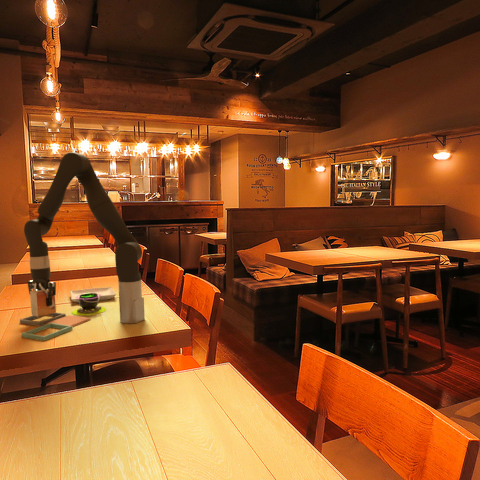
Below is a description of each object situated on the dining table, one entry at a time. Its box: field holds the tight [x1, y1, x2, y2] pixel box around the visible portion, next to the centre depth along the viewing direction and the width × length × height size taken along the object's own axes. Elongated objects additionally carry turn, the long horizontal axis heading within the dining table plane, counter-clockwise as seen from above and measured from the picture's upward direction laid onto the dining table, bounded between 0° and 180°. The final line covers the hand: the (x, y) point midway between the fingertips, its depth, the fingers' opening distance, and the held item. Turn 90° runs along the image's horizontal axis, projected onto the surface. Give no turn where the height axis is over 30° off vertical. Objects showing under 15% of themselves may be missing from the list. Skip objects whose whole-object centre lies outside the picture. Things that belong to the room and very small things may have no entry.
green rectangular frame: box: [21, 323, 73, 342], centre depth 154 cm, size 11×13×2 cm
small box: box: [29, 289, 57, 318], centre depth 171 cm, size 8×6×10 cm
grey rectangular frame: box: [19, 312, 67, 327], centre depth 172 cm, size 11×13×2 cm
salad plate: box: [69, 286, 117, 303], centre depth 209 cm, size 21×21×3 cm
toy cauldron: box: [71, 287, 107, 317], centre depth 185 cm, size 15×15×11 cm
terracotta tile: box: [47, 314, 92, 328], centre depth 168 cm, size 12×12×1 cm
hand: (43, 305), depth 171 cm, fingers closed on small box, 6 cm apart
